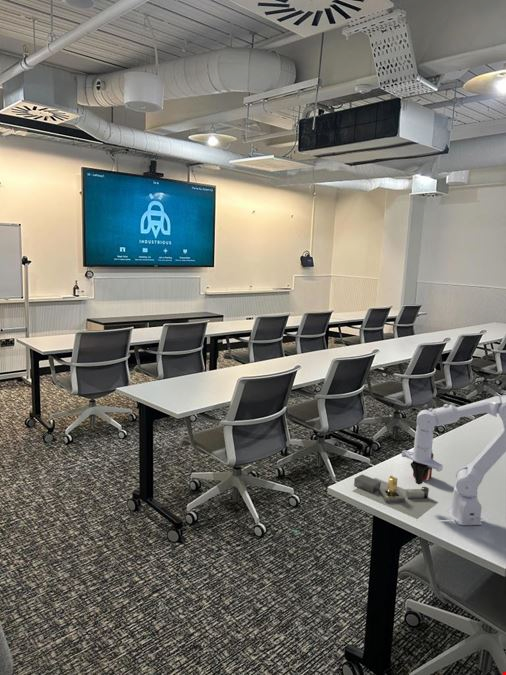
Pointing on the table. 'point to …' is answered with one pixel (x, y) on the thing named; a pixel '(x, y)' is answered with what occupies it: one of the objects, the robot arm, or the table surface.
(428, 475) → the soda can
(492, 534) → the table surface
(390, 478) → the key peg
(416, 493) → the lever
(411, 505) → the mat
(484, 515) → the table surface
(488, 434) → the table surface
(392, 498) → the grey block and frame
